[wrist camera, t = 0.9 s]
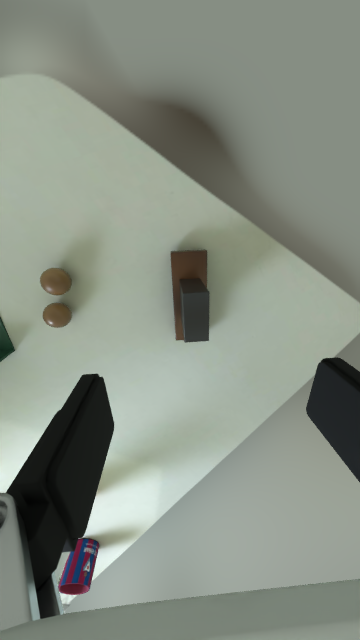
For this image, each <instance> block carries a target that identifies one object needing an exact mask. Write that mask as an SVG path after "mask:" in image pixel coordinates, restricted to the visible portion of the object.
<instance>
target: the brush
mask: <svg viewBox="0 0 360 640" xmlns="http://www.w3.org/2000/svg"><path fill="white" fill-rule="evenodd" d="M171 267H172V283H173V300H174V316H175V332H176V340H184V342H198V341H209V291H208V289H207V250H187V251H171Z"/></svg>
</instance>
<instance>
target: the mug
mask: <svg viewBox="0 0 360 640" xmlns="http://www.w3.org/2000/svg"><path fill="white" fill-rule="evenodd" d="M98 549H99V543H98V542H97V541H95V540H92V539H78V542H77V545H76V548H75V551H73V552H70V554H69V556H68V559H67V561H66V563H65V567H64V570H63V573H62V576H61V579H60V583H59V586H58V589H59V592H61V593H64V594H69V595H78V594H83V593H86V592H88V591H89V589H90V585H91V581H92V576H93V572H94V567H95V562H96V558H97V553H98Z"/></svg>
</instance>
